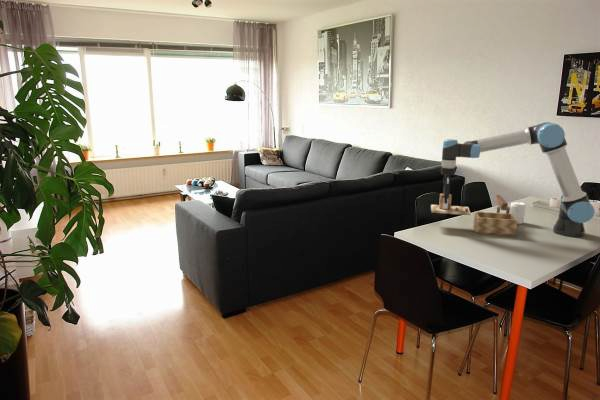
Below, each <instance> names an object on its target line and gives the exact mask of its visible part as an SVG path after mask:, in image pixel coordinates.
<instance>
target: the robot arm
mask: <svg viewBox="0 0 600 400" xmlns="http://www.w3.org/2000/svg"><path fill="white" fill-rule="evenodd" d="M442 144H443V145H442V153H441V161H440V163H441V165H440V166H441V167H440V174H441V175H444V176H443V179H442V180H443V187H442V188H443V190H442V194H444V197H443V196H442V198H443V209H448V197H449V194H450V188H451V187H450V186H451V183H452V177H451V176H454V175H455V174H456V166H457V165H456V164H457V158H467V159H478V158H480V155H481V153H485V152H491V151H495V150H500V149H506V148H511V147H516V146H521V145H526V144H527V145H536V144H537V145H538V144H539V147H540V149H541V152H542V154H545V155H546V156H547V158H548V160H549V163H550V165H551V168H552V171H553V173H554V176H555V178H556V181H557V183H558V186H559V189H560V191H561V197H560V204H559V205H560V206H559V211H558V212H559V213H558V218H557V220H556V221H555V224H554V226H553V228H552V232H553V233H555V234H558V235H561V236H566V237H575V238H579V237H584V236H585V233H586V230H585V226H584V223H588V222H590V221H591V219H593V217H595V207H594V205H593V204H592V203H591V202H590V199H589V196H588V194H587V192H585V191H583V190H582V188H581V185H580V183H579V180H578V178H577V175H576V172H575V170H574V168H573V165H572V162H571V160H570V157H569V154H568V152H567V150H566V147H567V145H568V142H567V141H566V134H565V131H564V129H563V127H562V125H561V126H560V124H557V123H554V122H542V123H539V124H535V125H533V126H527V127H526V128H525V129H523V130H518V131H513V132H508V133H504V134H500V135H499V134H498V135H493V136H489V137H485V138H479V139H476V140H475V139H474V140H466V141H465V142H463V143H460V142H459V141H458V140H457V139H451V138H450V139H449V138H448V139H444V140H443V143H442Z"/></svg>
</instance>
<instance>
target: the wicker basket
mask: <svg viewBox="0 0 600 400" xmlns="http://www.w3.org/2000/svg"><path fill="white" fill-rule="evenodd" d="M473 216H474V217H473V223H472V225H473V229H474V232H475V234H479V235H480V234H481V235H492V236H493V235H495V236H503V237H505V236H506V237H516V234H517V226H518V224H517V219H516V218H515V217H514V216H513V214H510V207H509V206H508V207H507V210H505V213H502V212H501V209H500V207H499V206H498V205H497V206H496V212H486V211H474V214H473Z"/></svg>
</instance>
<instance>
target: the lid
mask: <svg viewBox="0 0 600 400" xmlns="http://www.w3.org/2000/svg"><path fill="white" fill-rule="evenodd" d="M442 196H443V197H444V194H443V193H439V202H438V203H439V204H430V211H431V213H436V214H446V215H448V214H449V215H462V216H471V211H470V208H469V206H461V205H460V206H459V205H452V197H453V196H452V194H451V193H449V197H448V209H443V198H442Z"/></svg>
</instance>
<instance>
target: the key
mask: <svg viewBox="0 0 600 400" xmlns="http://www.w3.org/2000/svg"><path fill="white" fill-rule="evenodd" d="M494 202H495V203H496V204H497V206H498V207H500V211H501V210H502V211H506V210H507V207H509V203H508V201H507V200H505V198H504V197H503V196H502V194H495V197H494Z"/></svg>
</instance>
